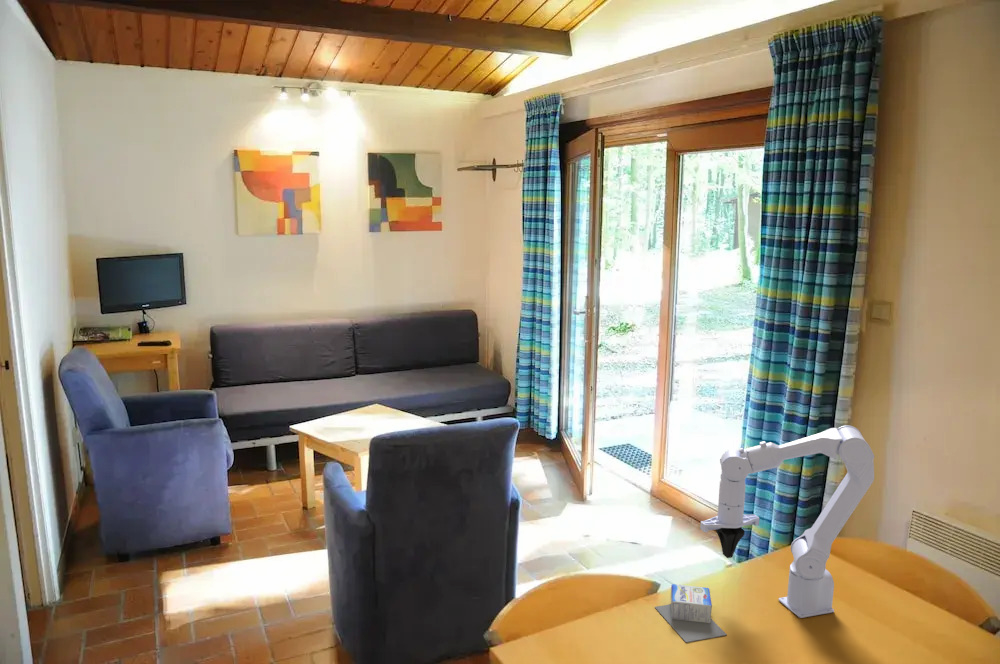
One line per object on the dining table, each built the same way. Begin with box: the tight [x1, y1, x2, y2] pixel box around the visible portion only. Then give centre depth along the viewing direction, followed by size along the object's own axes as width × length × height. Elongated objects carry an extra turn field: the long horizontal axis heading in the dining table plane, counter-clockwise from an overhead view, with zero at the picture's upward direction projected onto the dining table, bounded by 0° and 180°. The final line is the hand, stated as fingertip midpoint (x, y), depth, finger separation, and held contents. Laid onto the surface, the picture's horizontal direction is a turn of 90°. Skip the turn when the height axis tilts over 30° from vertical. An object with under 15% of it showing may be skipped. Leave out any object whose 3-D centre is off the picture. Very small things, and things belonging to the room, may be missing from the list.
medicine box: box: [670, 583, 713, 623], centre depth 168 cm, size 8×4×9 cm
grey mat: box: [654, 603, 728, 644], centre depth 165 cm, size 10×14×1 cm
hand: (727, 555), depth 173 cm, fingers closed
